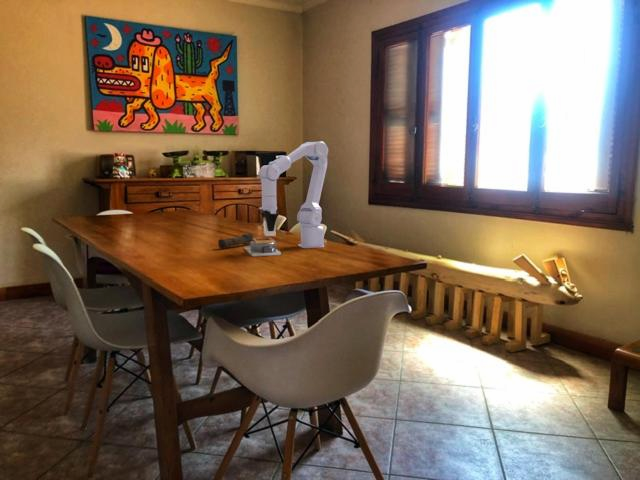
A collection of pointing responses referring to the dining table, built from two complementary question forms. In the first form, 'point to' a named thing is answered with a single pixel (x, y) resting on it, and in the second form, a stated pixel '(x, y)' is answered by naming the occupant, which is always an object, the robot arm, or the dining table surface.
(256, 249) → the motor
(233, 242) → the hand tool
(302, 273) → the dining table surface
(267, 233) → the block
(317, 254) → the dining table surface
